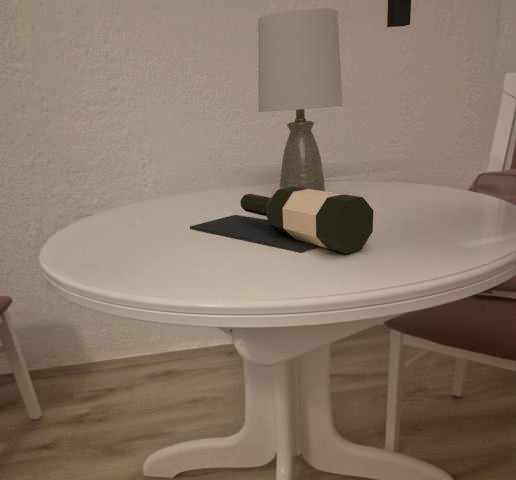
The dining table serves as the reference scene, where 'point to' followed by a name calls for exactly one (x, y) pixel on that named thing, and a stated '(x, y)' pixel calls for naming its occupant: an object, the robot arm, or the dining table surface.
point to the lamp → (299, 82)
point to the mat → (252, 232)
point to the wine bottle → (316, 217)
